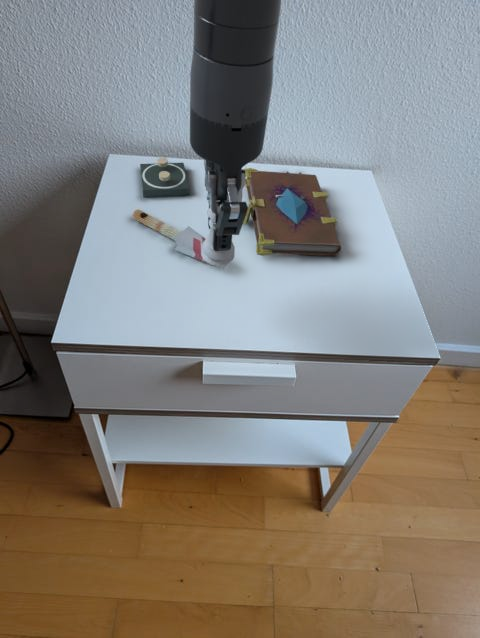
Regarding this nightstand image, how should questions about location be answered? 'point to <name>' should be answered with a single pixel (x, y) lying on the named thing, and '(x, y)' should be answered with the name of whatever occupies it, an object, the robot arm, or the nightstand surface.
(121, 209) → the nightstand surface
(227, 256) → the rook chess piece
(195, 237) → the grey trowel
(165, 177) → the eye pad
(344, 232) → the nightstand surface
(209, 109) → the robot arm
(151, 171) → the green square board
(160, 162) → the eye pad
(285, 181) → the book
